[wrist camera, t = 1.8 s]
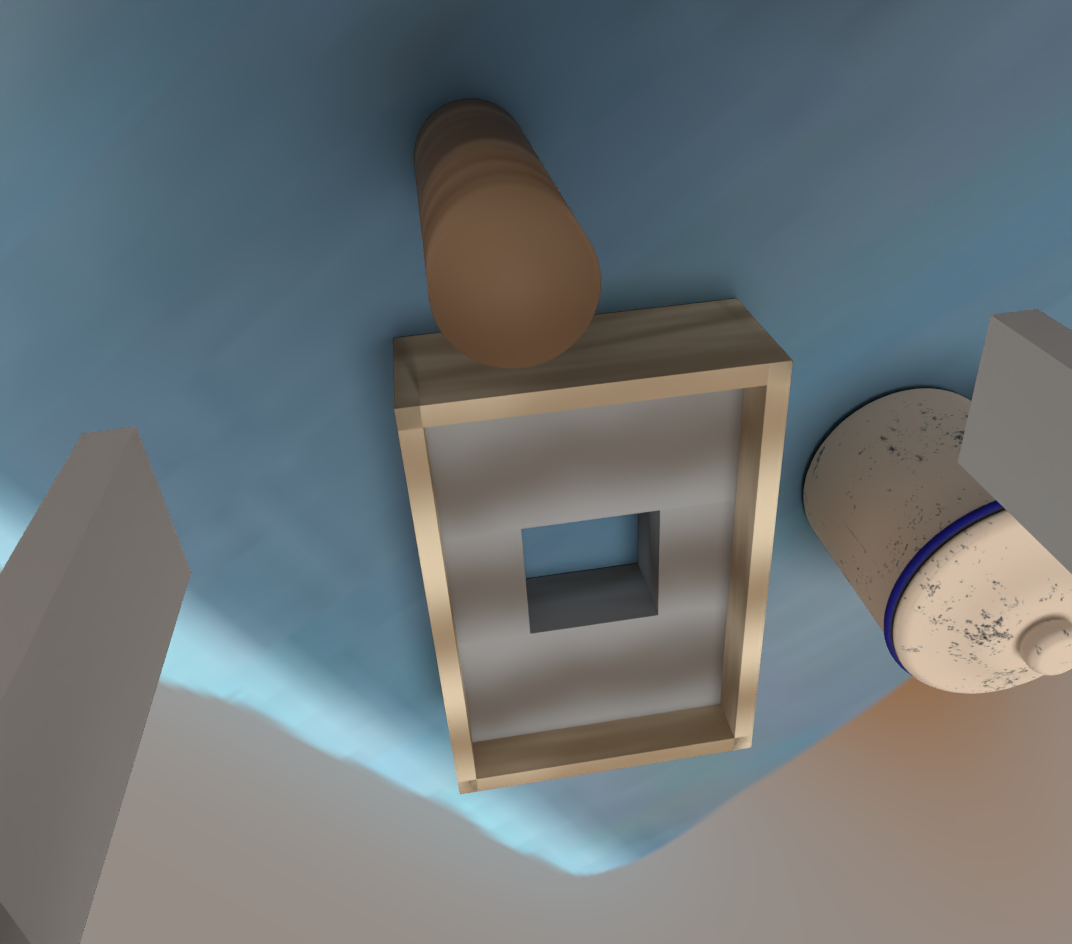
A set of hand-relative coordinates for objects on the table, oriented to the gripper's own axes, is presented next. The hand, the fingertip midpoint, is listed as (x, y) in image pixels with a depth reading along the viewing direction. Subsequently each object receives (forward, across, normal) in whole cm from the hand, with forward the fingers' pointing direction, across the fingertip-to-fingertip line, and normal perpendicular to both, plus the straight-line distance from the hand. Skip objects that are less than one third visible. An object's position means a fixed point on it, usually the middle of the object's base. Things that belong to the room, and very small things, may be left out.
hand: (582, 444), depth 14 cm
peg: (+19, 0, 0) cm, 19 cm away
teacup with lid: (+19, +18, -14) cm, 30 cm away
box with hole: (+18, +2, -16) cm, 24 cm away
